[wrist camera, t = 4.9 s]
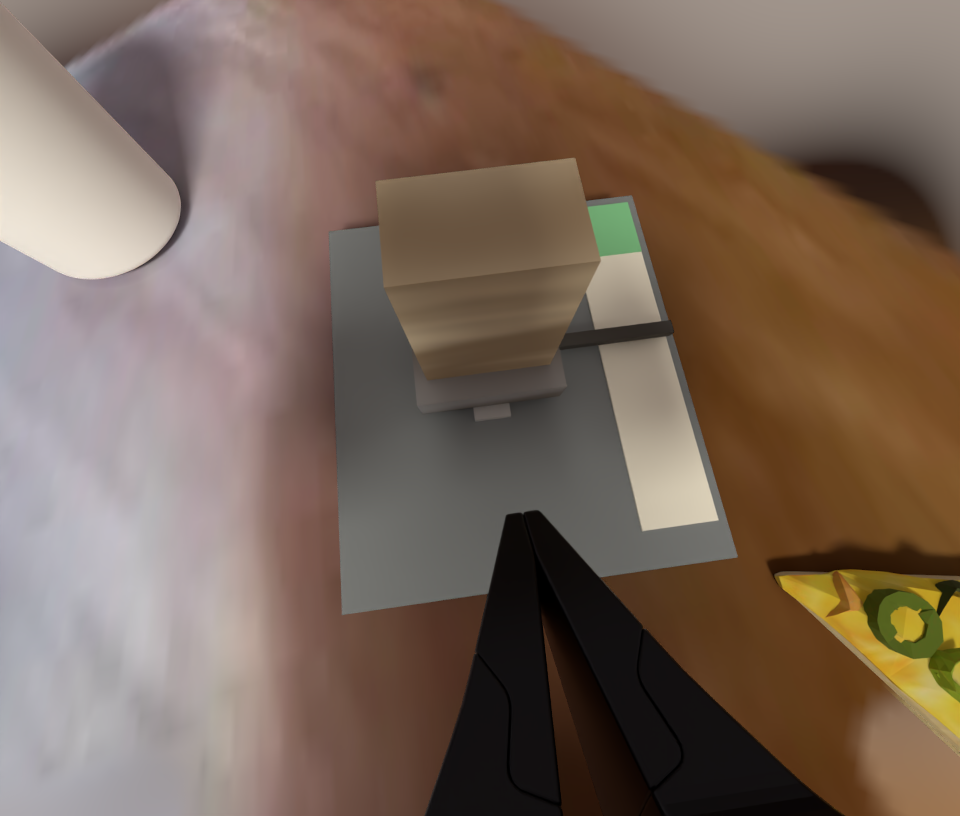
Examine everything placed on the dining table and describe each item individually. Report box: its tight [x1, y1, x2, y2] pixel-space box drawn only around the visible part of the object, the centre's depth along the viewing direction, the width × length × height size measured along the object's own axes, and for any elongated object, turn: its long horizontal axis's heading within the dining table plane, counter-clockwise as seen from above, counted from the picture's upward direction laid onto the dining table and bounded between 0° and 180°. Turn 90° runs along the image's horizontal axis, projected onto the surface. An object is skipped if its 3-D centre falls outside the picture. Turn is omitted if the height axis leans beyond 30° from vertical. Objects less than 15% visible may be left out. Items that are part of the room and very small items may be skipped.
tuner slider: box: [376, 158, 674, 414], centre depth 13 cm, size 5×12×8 cm, turn 98°
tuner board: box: [329, 196, 738, 615], centre depth 17 cm, size 18×16×2 cm
